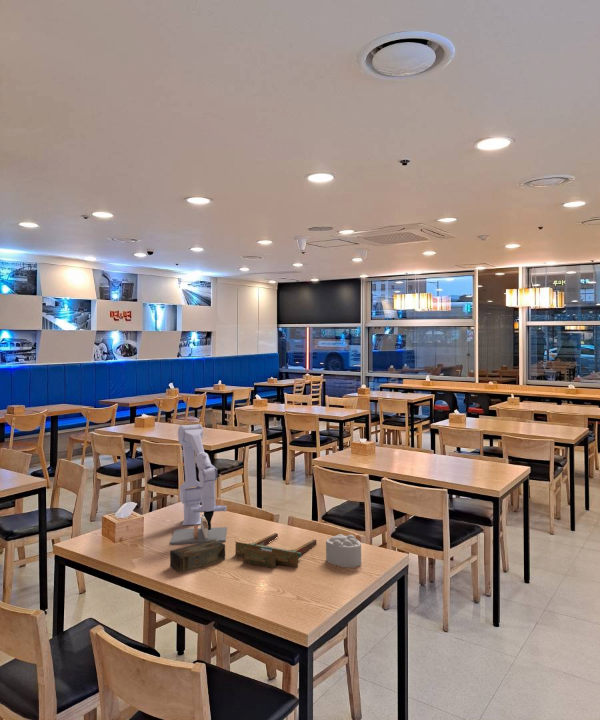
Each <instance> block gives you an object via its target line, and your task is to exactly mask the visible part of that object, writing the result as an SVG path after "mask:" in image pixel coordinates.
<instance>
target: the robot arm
mask: <svg viewBox="0 0 600 720" xmlns="http://www.w3.org/2000/svg"><path fill="white" fill-rule="evenodd" d="M203 428H204V427H203V426H202V425H201V424H200V423H197V424H188V425H186V424H185V425H184V424H183V425H180V426H179V427H178V428H177V429H178V430H177V437H178V438H177V439H178V444H180V445H182V453H183V454H182V455H183V464H184V465H183V467H184V469H183V470H184V478H185V480H184V482H183V483H182V484H181V485H179V497H178V498H179V501H180V503H181V504H183V521H182V522H181V523H182V526H194V525H198V526H200V525H201V517H202V516H201V513H203V514H204V517H205V519H206V522H207V524H208V530H211V528H212V519H213V516H214V515H215V514H214V513H216V512H227V505H217V504H216V502H217V501H216V481H217V479H218V471H217V468H216V467H215V466H214V465H213V464H212V463H211V462H212V461H211V459H210V455H209V454H208V453H207V452H205V448H204V445H203V441H202V440H203V434H204V429H203ZM195 455H196V456H195ZM196 466H197V469H198V480H199V481H198V480H197V472H196Z"/></svg>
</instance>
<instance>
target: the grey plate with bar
mask: <svg viewBox="0 0 600 720" xmlns="http://www.w3.org/2000/svg"><path fill="white" fill-rule="evenodd" d="M201 517H204V513H203V514H202V515H201ZM227 530H228V526H221V527H219V526H218V527H211V530H208V538H205V537H204V534H203V531H202V529H201V527H199V525H193V528H178V529H177V528H176V529H174V532H173V534H172V537H171V539H170V540H169V541H170V542H169V546H170V545H187V544H188V545H190V544H191V545H193V544H198V543H202V542H207V541H211V540H215V539H216V540H217V541H219V542H221V543H226V539H227V533H228V531H227Z"/></svg>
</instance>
